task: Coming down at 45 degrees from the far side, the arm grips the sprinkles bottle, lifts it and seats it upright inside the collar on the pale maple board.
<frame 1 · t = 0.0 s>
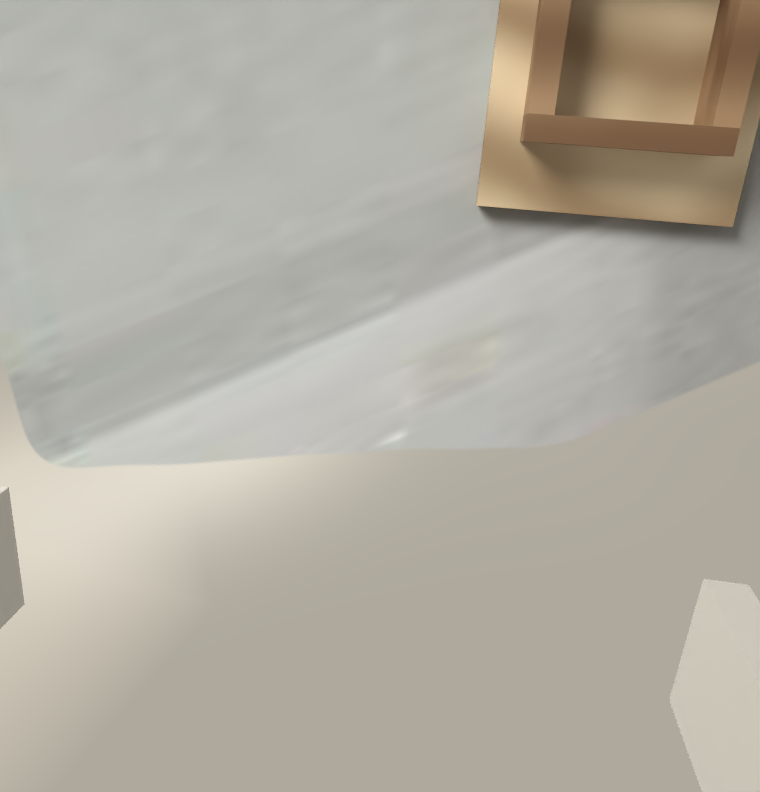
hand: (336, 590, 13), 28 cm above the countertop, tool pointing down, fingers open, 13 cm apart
socket board: (628, 47, 34), on the countertop
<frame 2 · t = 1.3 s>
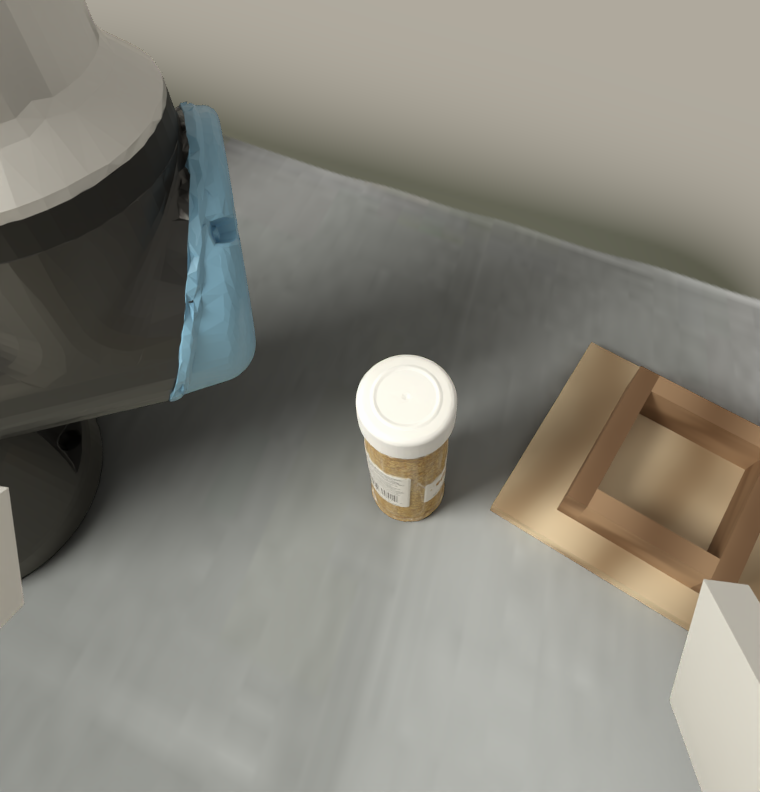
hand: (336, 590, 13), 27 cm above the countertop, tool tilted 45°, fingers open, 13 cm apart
socket board: (658, 492, 41), on the countertop
sprinkles bottle: (407, 488, 42), on the countertop
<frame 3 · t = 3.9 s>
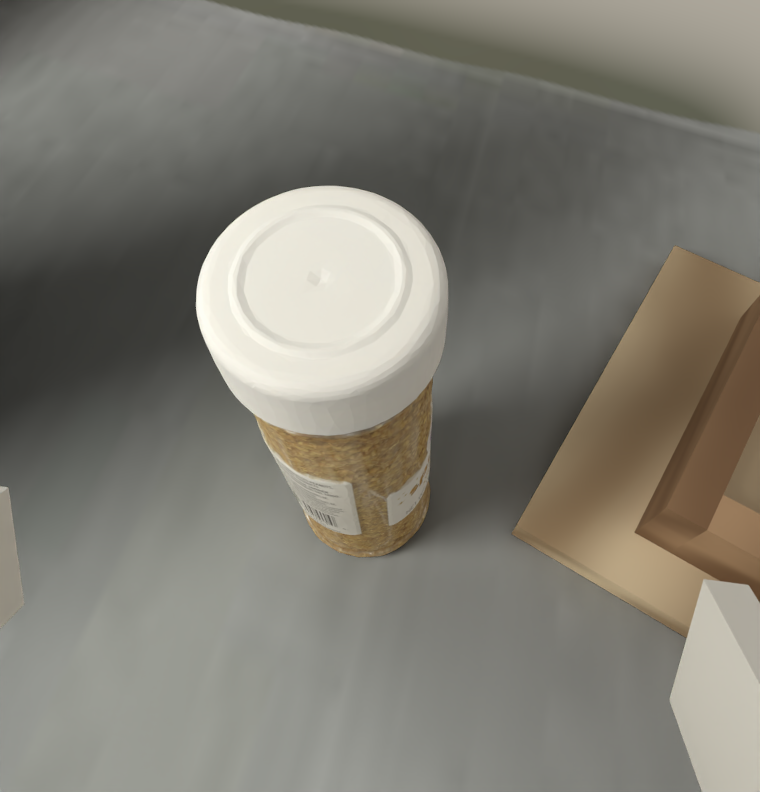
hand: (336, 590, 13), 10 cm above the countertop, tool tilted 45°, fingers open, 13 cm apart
sprinkles bottle: (365, 496, 24), on the countertop
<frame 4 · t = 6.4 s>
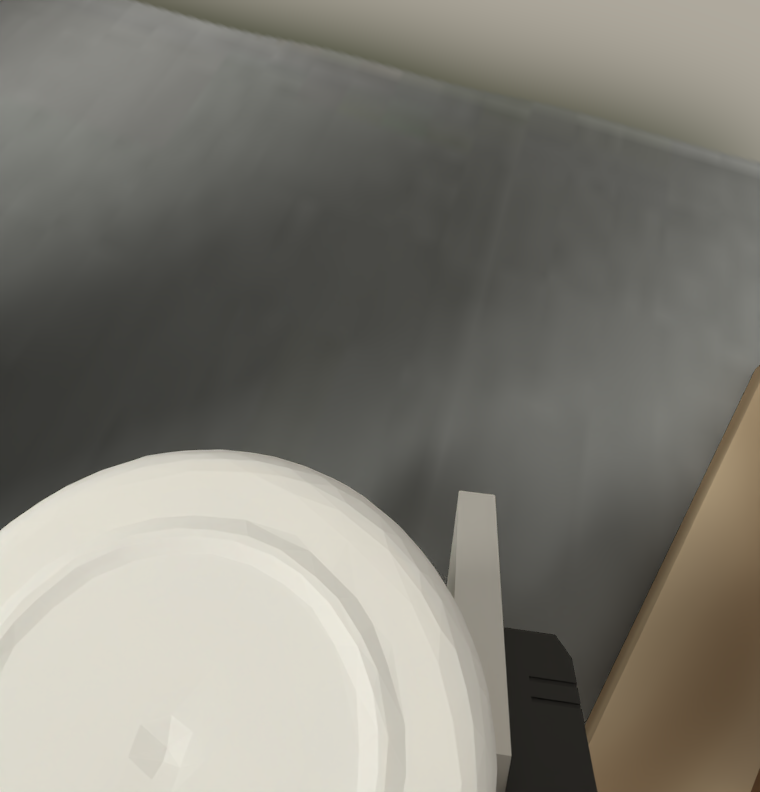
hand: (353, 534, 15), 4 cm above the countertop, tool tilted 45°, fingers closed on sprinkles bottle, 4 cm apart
sprinkles bottle: (341, 721, 17), on the countertop, touching gripper
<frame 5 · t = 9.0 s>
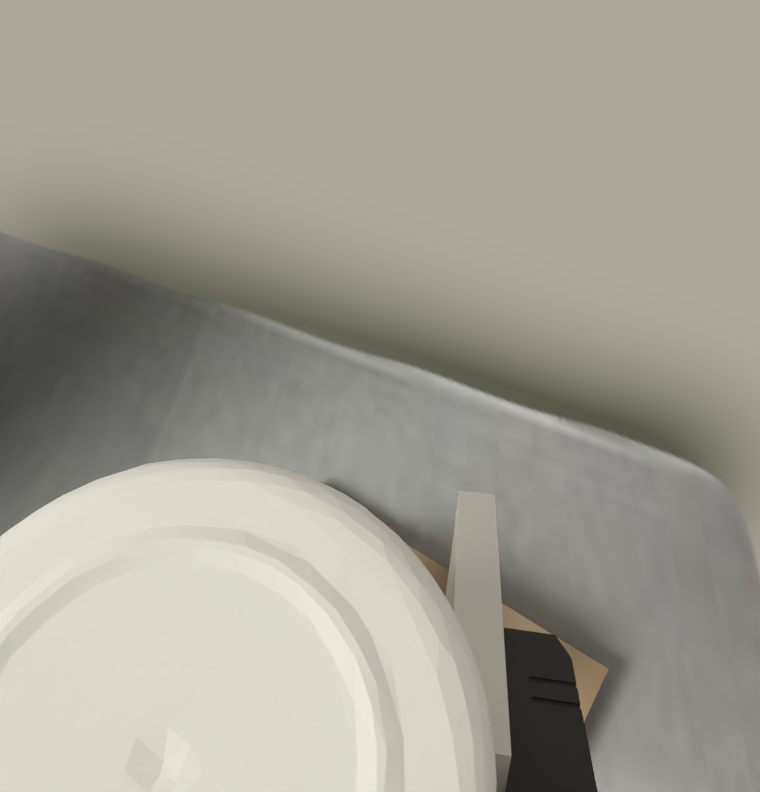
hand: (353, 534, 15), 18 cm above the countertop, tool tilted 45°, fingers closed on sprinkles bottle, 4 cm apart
socket board: (373, 700, 30), on the countertop
sprinkles bottle: (340, 725, 17), point 15 cm above the countertop, touching gripper
when the fingers open (6 cm above the countertop, at t = 11.5 s): sprinkles bottle drops 1 cm, resting on socket board.
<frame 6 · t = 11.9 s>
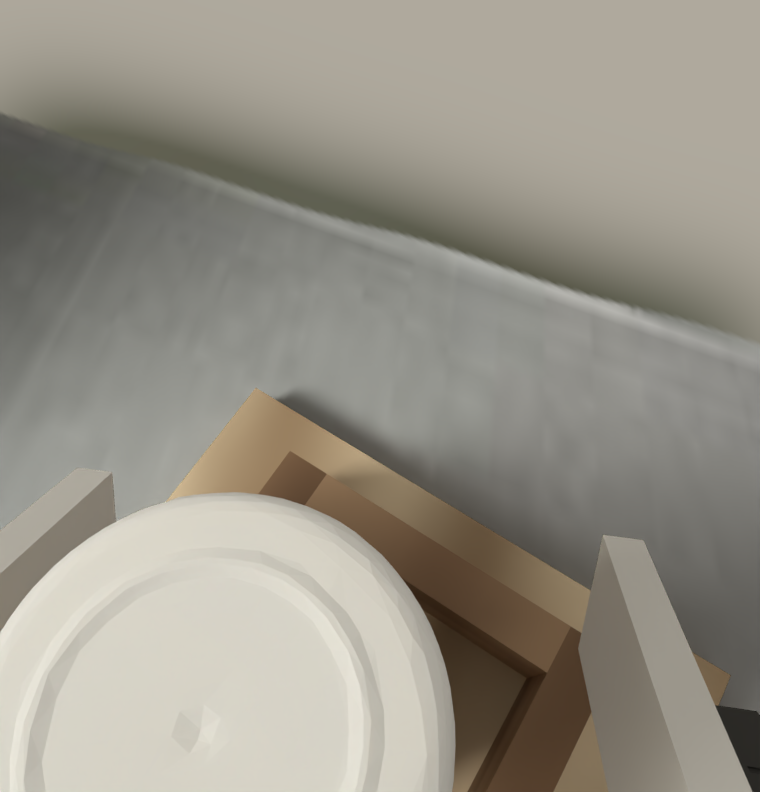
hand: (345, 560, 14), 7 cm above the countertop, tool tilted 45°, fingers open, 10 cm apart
socket board: (349, 719, 19), on the countertop
sprinkles bottle: (333, 722, 18), point 1 cm above the countertop, touching socket board
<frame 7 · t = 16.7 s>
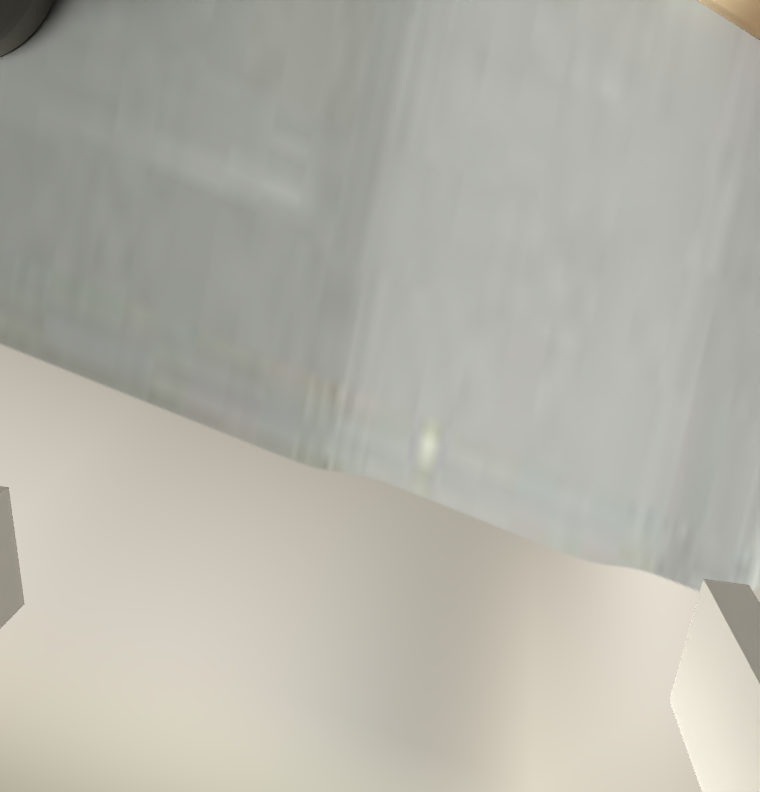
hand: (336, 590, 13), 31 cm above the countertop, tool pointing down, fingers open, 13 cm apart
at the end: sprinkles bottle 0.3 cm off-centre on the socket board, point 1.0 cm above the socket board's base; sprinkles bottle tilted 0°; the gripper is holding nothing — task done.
